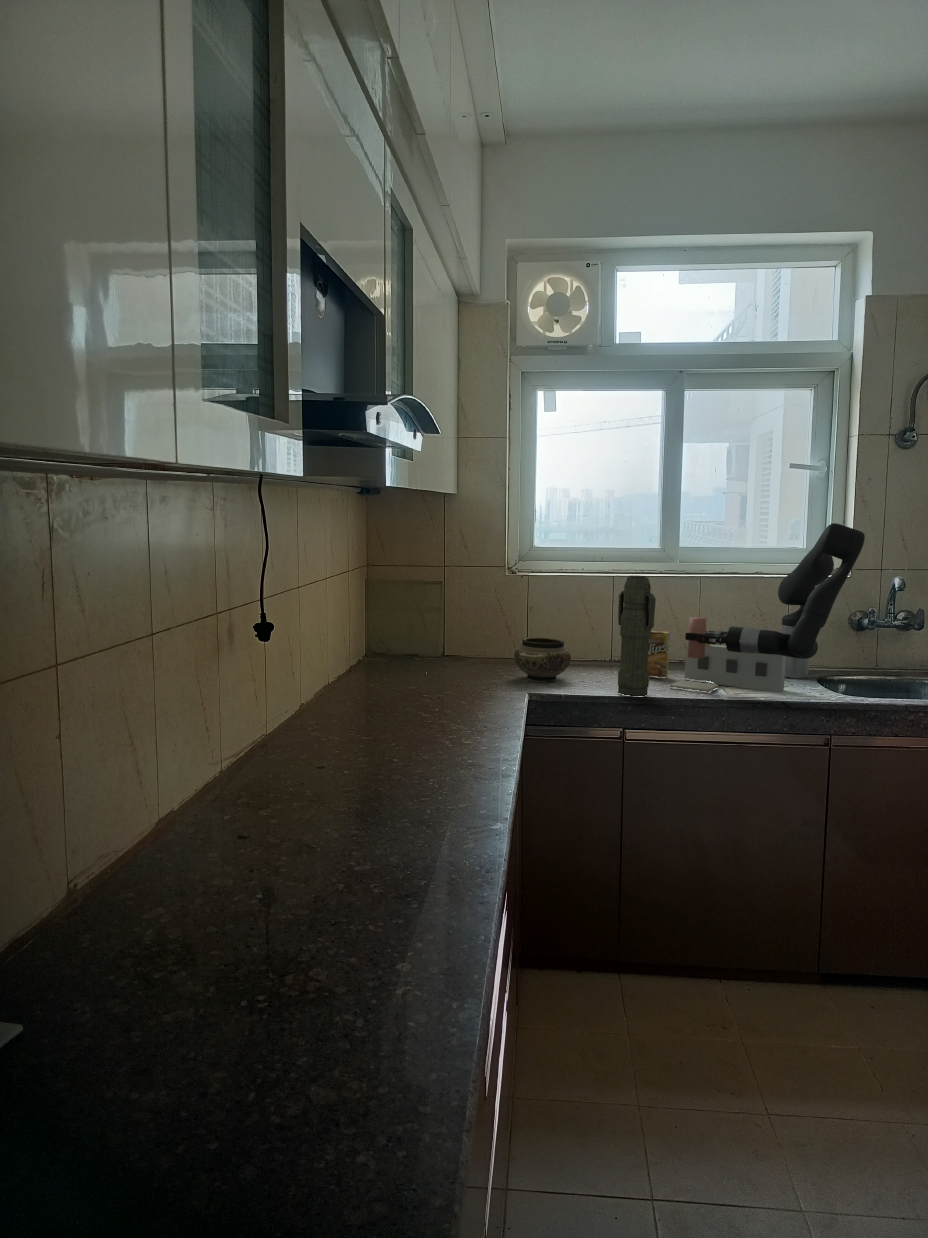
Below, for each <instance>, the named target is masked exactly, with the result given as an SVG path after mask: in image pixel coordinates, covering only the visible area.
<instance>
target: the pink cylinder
mask: <svg viewBox="0 0 928 1238" xmlns="http://www.w3.org/2000/svg"><path fill="white" fill-rule="evenodd" d="M706 631H707V618H706V617H699V616H697V617H695V616H694V617H693V616H692V617H689V625H688V633H701V634H705V633H706ZM702 640H704V637H702ZM687 643H688V657H690V658H705V643H698V642H697V641H692V640H688V642H687Z"/></svg>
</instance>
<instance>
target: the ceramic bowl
mask: <svg viewBox="0 0 928 1238" xmlns="http://www.w3.org/2000/svg"><path fill="white" fill-rule="evenodd" d="M521 642H522V644H520V645H519V646H517V647H516V648H515V651H514V656H513V657H514V660H515V663H516V665H517V667H518V669H519V670H521V671H522V672H523V673H525V674H526V679H527V680H528V681H530V680H531V682H533V681H537V682H536V683H548V682H547V681H552V682H555V681H557V676H559V675H561V674H562V673H563V672H565V670H566V669H568V667H569V665H570V663H571V660H572V656H571V653H570V651H569V649H568V648H566V647H565V646H564V645H565V641H564V640H563V639H562V640H561V639H558V638H553V637H552V638H551V637H540V636H528V637H523V638H522V641H521ZM554 680H555V681H554Z"/></svg>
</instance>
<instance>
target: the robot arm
mask: <svg viewBox="0 0 928 1238" xmlns="http://www.w3.org/2000/svg"><path fill="white" fill-rule="evenodd" d="M865 536H866V535H865V533H864V532H863V531H861V530H857V529H855V528H852V527H849V526H847V525H843V524H842V523H841V524H840V523H836V522H835V523H831V524H828V525H827V527H826V528H825V529H824V530H823V532H822V533H821V535H820V536H819V538H818V540H817V541H816V543H815V544H814V546H813V547H812V548H811V550H809V552H808V553H807V554H806V555H805V556H804V557H803V559H801V561H800V562H799V564H798V565H797V566H796V568H794V569H793V570H792V571H791V572H790V573H789V574H787V575H786V576H785V577H784V578H783V579H782V580H781V582H780V583H779V587H778V590H777V597H778V599H779V601H780V602H781V603H782V604H784V605H787V606H799V609H797V610H796V611H794V612H791V613H789V614H786V615H784V616H782V618H781V629H780V630H781V631H777V630H768V629H760V628H753V627H743V626H742V627H741V626H730V627H728V629H727V630H726V631H725V630H708V631H707V630H706V633H705V634H701V633H689V632H686V633H685V634H684V635H685V636H684V638H685V640H686V641H689V640H692V641H697V642H698V643H706V644H713V645H724V644H725V646H726V648H727V650H728V651H730V652H740V653H760V654H771V655H782V656H786V663H785V678H787V677H790V678H789V679H807V678H808V677H809V664H810V663H809V662H810V658H813V657H814V656H815V655H816V654H817V652H818V649H819V646H818V642H817V638H818V635H819V633H820V631H821V629H822V628H824V626H826V624H827V622H828V620H829V619H828V618H829V615H830V614H831V611H832V608H833V606H834V604H835V601H836V599H837V597H838V595H839V593H840V592H841V589H842V588H843V586H844V584H845V582H846V580H847V579H848V576H849V575H850V573H851V572H852V569H853V567H854V566H855V564H856V562H857V560H858V558H859V556H860V554H861V551H862V549H863V547H864V544H865V540H866V539H865V538H866V537H865ZM834 558H837V559H840V560H841V561H842V562H841V564H840V566H839V567H838V568H837V570H836V571H835V572H833V571H834V569H835V563H834V562H835V561H834ZM832 573H833V574H832ZM831 574H832V575H831ZM702 637H704V640H702Z"/></svg>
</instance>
